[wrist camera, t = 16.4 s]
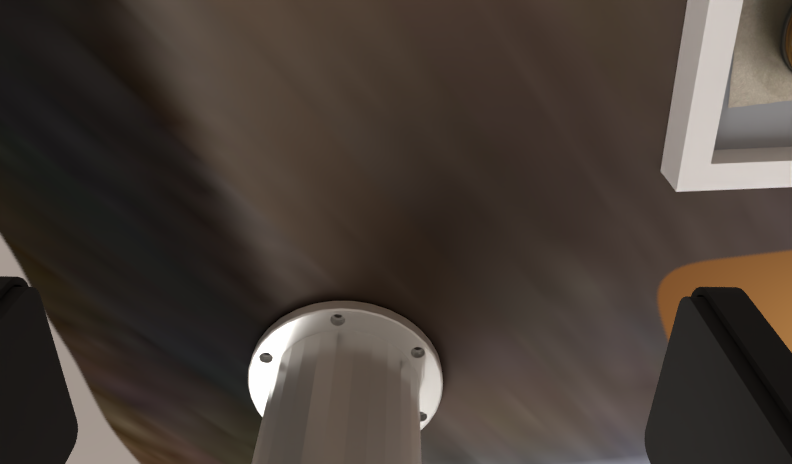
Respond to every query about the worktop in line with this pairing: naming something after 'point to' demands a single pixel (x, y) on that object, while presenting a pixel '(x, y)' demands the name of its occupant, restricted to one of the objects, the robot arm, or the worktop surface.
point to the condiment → (762, 54)
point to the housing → (721, 113)
